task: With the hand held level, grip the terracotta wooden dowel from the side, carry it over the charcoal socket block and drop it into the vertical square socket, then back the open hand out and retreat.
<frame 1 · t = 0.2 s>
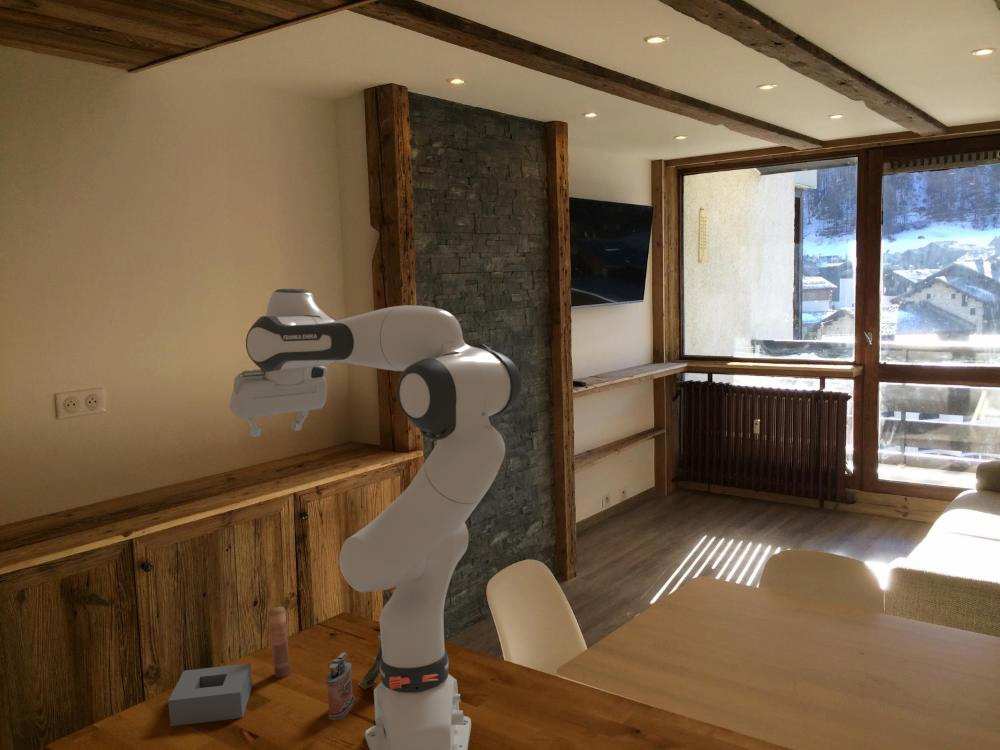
hand: (275, 432, 171), 51 cm above the table, tool tilted 15°, fingers open, 8 cm apart
holder: (213, 705, 165), on the table
peg: (282, 674, 177), on the table
eiffel tower: (393, 685, 170), on the table
lighter: (341, 710, 160), on the table
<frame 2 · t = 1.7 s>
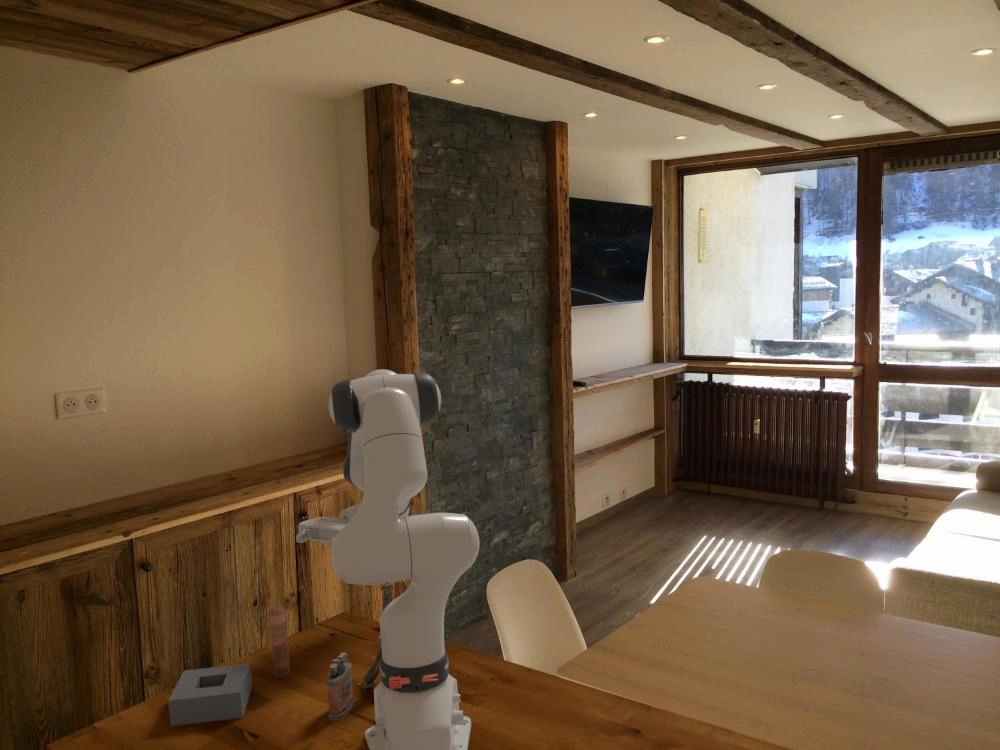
hand: (314, 541, 185), 25 cm above the table, tool horizontal, fingers open, 8 cm apart
nothing on the table moved.
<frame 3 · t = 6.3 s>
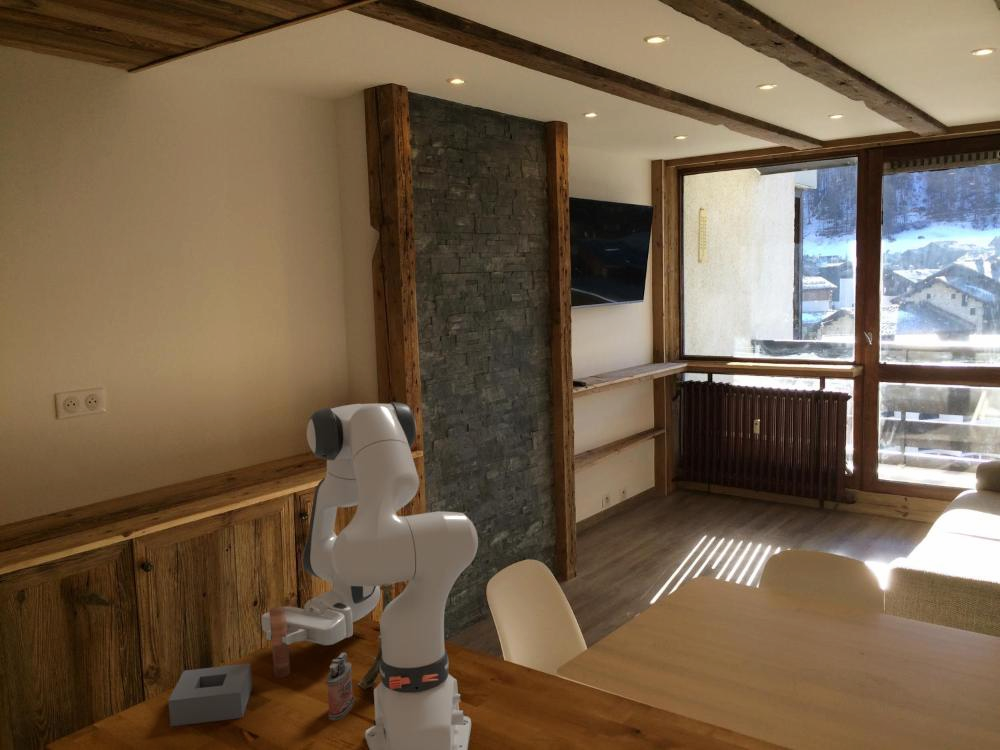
hand: (276, 638, 176), 8 cm above the table, tool horizontal, fingers closed on peg, 3 cm apart
peg: (282, 674, 177), on the table, touching gripper
everything else where it was.
when the fingers open (11 cm above the table, at t = 11.5 s): peg drops 1 cm, resting on holder.
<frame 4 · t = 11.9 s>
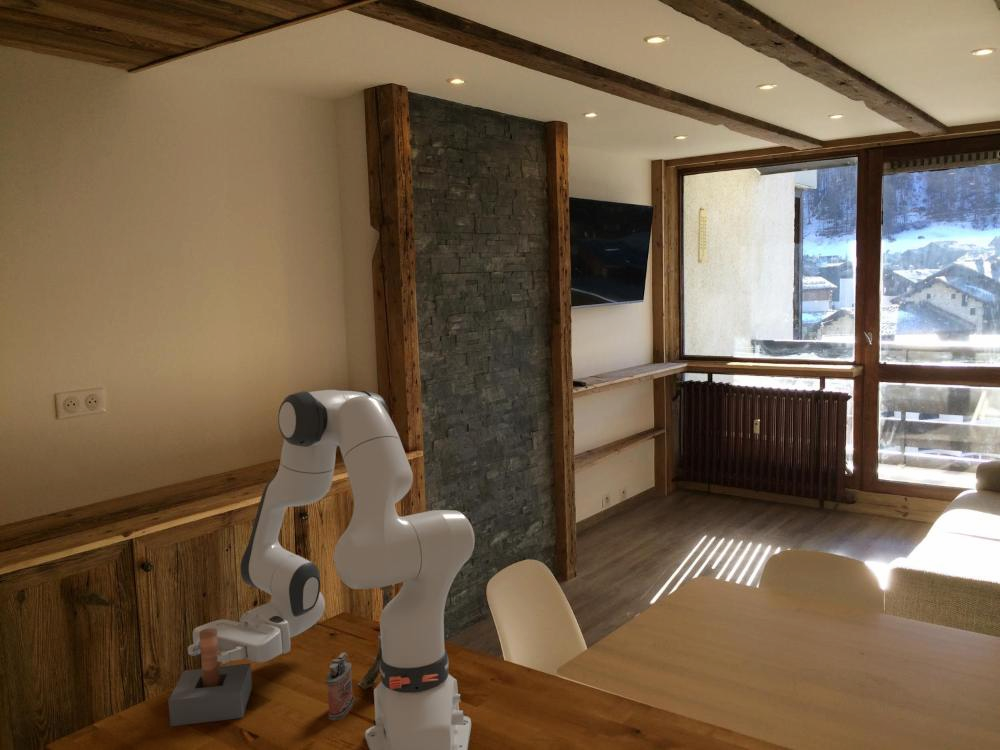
hand: (204, 655, 163), 11 cm above the table, tool horizontal, fingers open, 7 cm apart
peg: (213, 700, 164), point 1 cm above the table, touching holder
everything else where it was.
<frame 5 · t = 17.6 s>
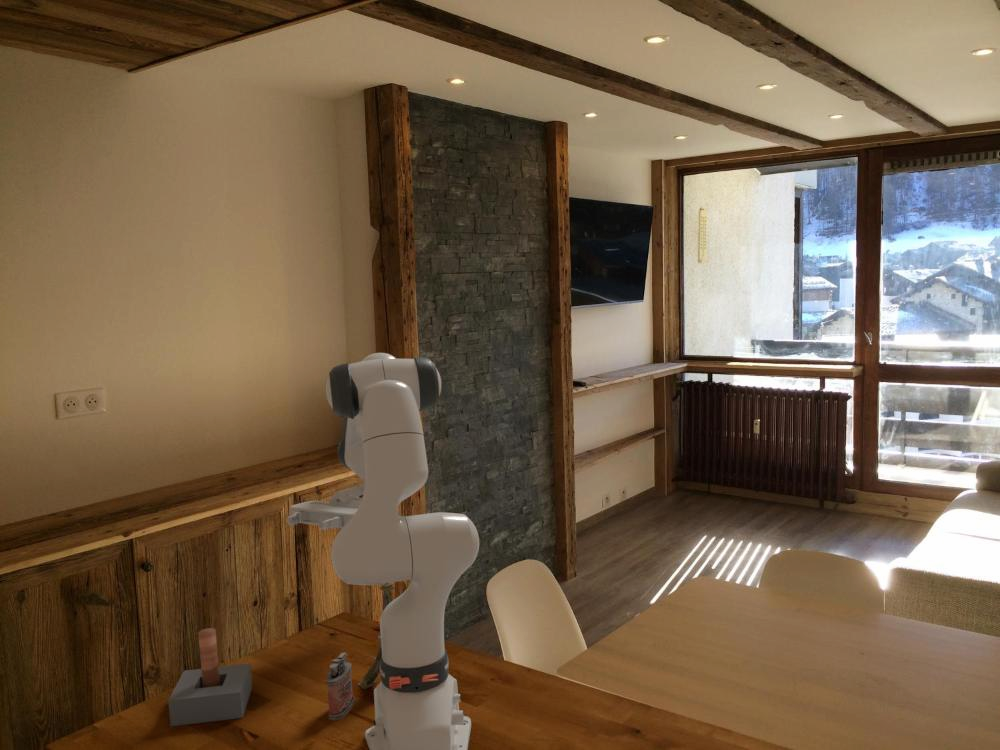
hand: (305, 523, 181), 30 cm above the table, tool horizontal, fingers open, 8 cm apart
nothing on the table moved.
at the end: peg 0.0 cm off-centre on the holder, point 1.0 cm above the holder's base; the gripper is holding nothing; peg tilted 0° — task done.
